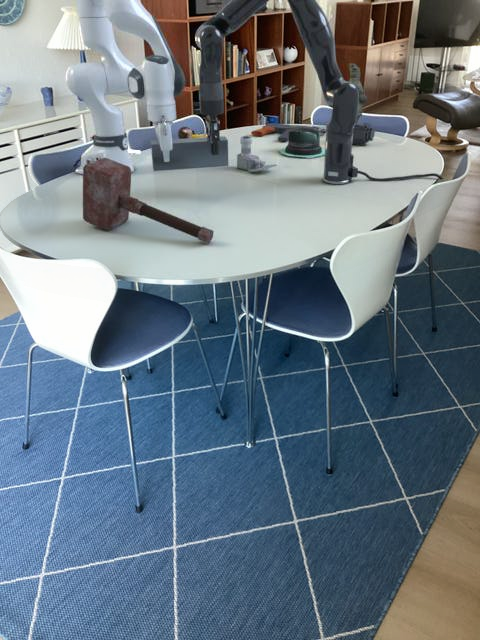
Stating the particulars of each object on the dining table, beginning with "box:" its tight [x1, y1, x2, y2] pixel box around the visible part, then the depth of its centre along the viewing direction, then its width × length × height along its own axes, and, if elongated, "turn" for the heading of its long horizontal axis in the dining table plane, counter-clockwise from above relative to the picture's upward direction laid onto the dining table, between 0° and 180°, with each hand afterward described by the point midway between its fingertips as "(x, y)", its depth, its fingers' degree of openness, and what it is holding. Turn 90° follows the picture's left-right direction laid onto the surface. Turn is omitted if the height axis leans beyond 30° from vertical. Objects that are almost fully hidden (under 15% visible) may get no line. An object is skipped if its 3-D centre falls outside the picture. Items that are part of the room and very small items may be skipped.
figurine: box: [177, 126, 208, 139], centre depth 251 cm, size 13×8×25 cm
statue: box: [348, 62, 368, 125], centre depth 262 cm, size 11×9×30 cm
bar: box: [149, 135, 229, 172], centre depth 180 cm, size 24×6×8 cm, turn 101°
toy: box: [352, 122, 376, 146], centre depth 244 cm, size 9×9×15 cm
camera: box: [236, 135, 277, 173], centre depth 210 cm, size 9×12×15 cm
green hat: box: [279, 128, 325, 159], centre depth 234 cm, size 15×19×20 cm
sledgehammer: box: [82, 158, 214, 244], centre depth 155 cm, size 17×10×40 cm
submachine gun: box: [250, 122, 326, 142], centre depth 262 cm, size 32×3×25 cm
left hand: (165, 158), depth 179 cm, fingers closed on bar, 5 cm apart
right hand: (213, 152), depth 181 cm, fingers closed on bar, 5 cm apart
